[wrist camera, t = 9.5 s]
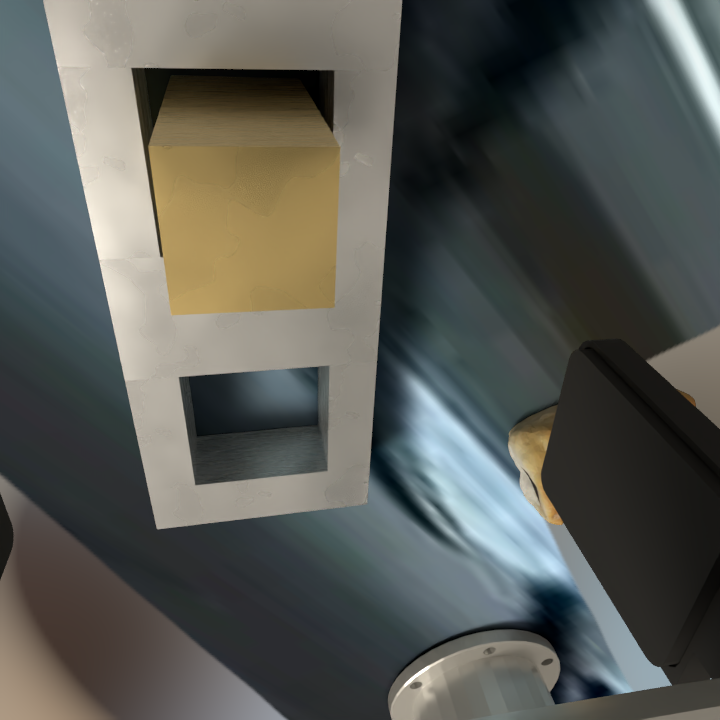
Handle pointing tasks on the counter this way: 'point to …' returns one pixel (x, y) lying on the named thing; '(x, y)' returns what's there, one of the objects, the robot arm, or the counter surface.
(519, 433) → the pastry
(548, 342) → the counter surface
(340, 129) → the board with square holes
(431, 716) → the robot arm
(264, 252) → the wooden block
